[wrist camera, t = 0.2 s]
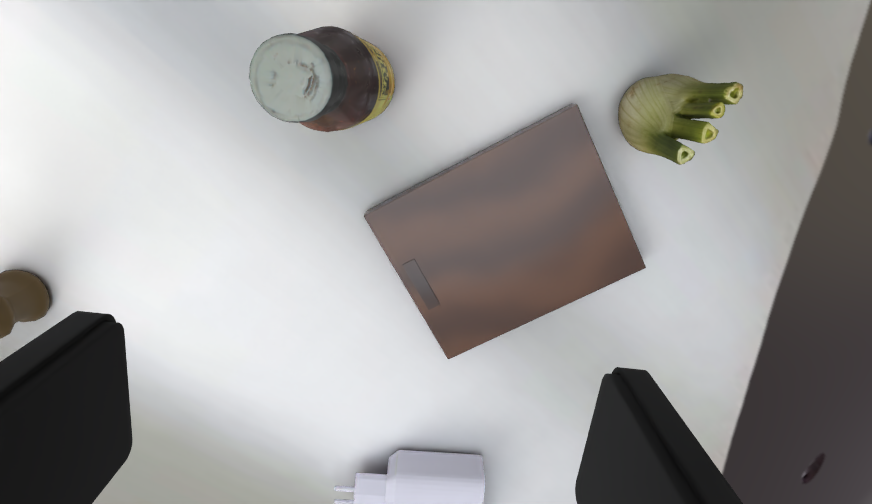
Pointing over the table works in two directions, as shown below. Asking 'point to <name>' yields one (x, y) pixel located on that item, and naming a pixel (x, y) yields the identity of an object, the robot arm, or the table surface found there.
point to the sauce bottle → (321, 79)
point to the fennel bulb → (673, 113)
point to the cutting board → (508, 233)
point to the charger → (422, 480)
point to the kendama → (21, 299)
